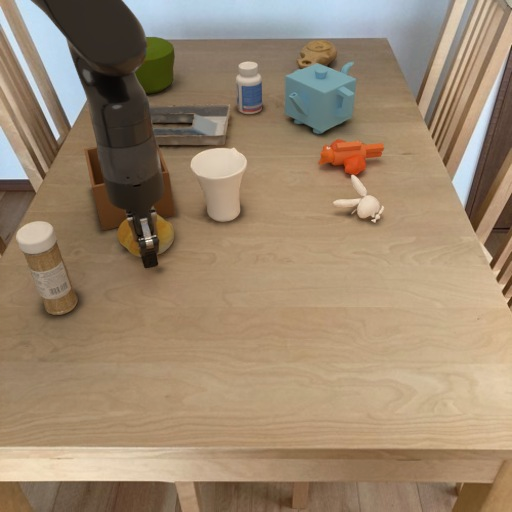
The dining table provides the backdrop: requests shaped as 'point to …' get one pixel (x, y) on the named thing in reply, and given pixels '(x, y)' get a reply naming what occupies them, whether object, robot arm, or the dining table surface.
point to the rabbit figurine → (361, 202)
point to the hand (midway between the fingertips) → (150, 264)
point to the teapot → (320, 96)
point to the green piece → (156, 65)
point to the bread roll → (164, 236)
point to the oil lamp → (317, 54)
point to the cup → (220, 180)
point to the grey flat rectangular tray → (200, 133)
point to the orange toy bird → (350, 154)
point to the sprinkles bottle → (47, 266)
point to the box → (109, 212)
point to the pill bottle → (249, 88)
